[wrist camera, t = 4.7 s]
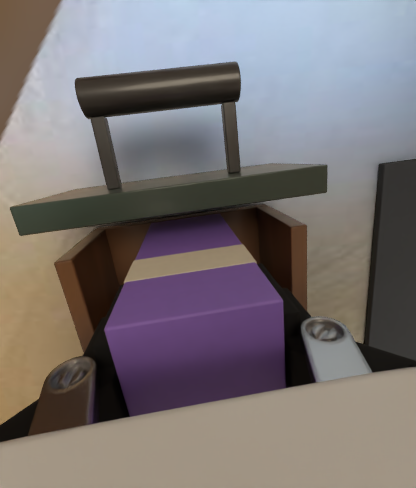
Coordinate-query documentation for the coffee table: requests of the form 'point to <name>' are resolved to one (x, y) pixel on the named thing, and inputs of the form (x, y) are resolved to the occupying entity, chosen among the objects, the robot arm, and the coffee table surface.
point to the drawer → (168, 192)
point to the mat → (394, 262)
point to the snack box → (195, 320)
